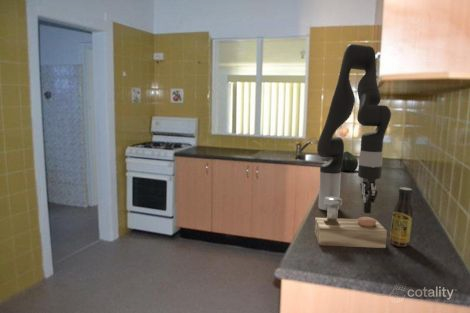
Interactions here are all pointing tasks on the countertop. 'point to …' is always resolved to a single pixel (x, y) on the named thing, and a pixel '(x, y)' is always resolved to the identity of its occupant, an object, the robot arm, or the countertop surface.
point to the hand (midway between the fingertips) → (366, 212)
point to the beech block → (349, 233)
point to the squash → (349, 162)
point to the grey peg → (332, 208)
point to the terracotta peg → (367, 222)
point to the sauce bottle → (402, 219)
